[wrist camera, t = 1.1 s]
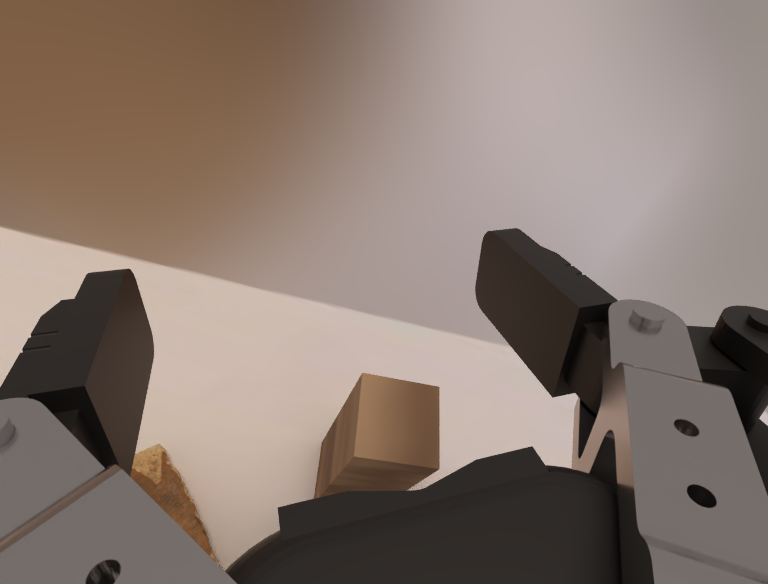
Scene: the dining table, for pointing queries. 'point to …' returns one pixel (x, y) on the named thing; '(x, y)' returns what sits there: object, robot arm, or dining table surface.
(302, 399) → the dining table surface
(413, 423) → the pillar
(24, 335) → the dining table surface
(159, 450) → the shard
